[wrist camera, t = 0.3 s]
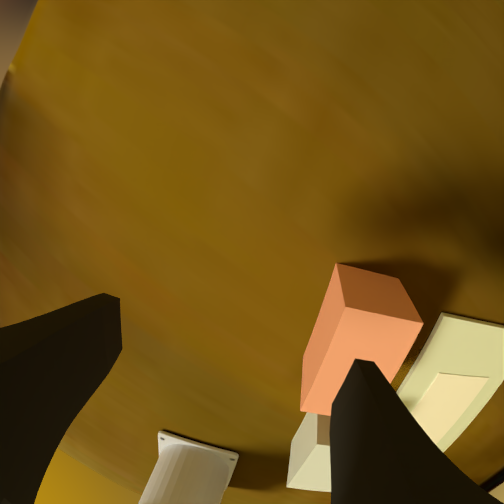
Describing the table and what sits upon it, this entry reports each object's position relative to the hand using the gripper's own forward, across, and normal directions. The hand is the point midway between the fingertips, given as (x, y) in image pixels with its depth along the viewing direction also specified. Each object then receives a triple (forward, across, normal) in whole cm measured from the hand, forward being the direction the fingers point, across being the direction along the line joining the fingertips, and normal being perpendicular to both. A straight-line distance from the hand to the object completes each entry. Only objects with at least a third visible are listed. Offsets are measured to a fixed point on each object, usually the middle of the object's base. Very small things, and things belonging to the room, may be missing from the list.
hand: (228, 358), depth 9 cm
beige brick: (+10, -8, +13) cm, 18 cm away
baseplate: (+10, -17, +10) cm, 22 cm away
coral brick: (+10, -6, +3) cm, 12 cm away
